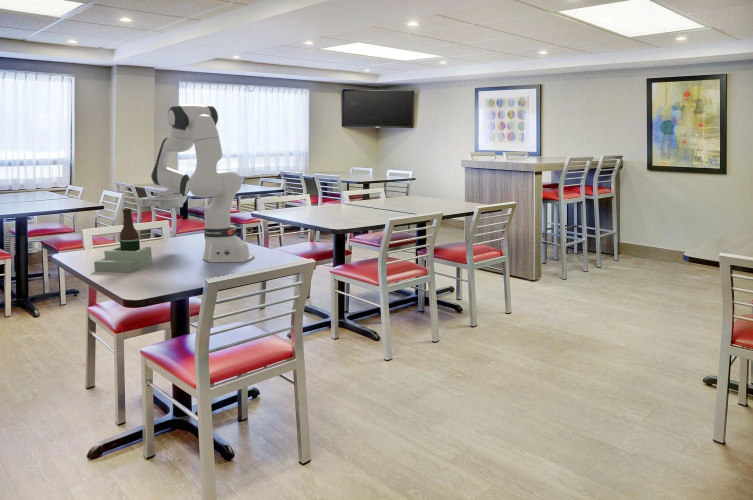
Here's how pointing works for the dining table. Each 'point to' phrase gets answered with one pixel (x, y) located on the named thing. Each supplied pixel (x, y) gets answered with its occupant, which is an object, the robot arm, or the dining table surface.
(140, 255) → the block
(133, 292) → the dining table surface
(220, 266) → the dining table surface
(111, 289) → the dining table surface
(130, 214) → the beer bottle
